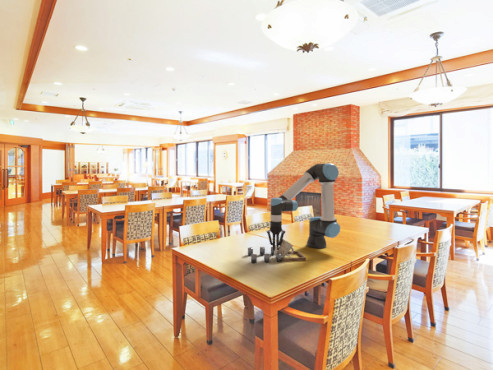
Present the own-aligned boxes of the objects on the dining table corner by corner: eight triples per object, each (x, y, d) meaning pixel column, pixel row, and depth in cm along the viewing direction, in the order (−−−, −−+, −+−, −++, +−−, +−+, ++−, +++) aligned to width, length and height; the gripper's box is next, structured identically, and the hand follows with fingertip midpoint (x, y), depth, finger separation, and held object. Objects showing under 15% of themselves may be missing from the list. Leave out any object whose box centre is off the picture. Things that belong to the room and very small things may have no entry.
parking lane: (298, 253, 198) (298, 250, 197) (305, 260, 182) (306, 257, 182) (275, 254, 195) (276, 251, 195) (281, 261, 180) (281, 258, 180)
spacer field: (275, 253, 197) (275, 246, 196) (282, 262, 178) (282, 254, 178) (247, 254, 194) (247, 247, 193) (251, 263, 175) (251, 255, 175)
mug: (273, 250, 189) (280, 237, 189) (285, 256, 195) (292, 244, 195) (279, 255, 182) (287, 242, 182) (292, 261, 188) (299, 249, 188)
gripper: (283, 219, 190) (283, 253, 192) (265, 219, 188) (265, 253, 190) (286, 221, 183) (286, 256, 184) (267, 221, 181) (267, 257, 182)
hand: (275, 254), depth 187 cm, fingers closed
